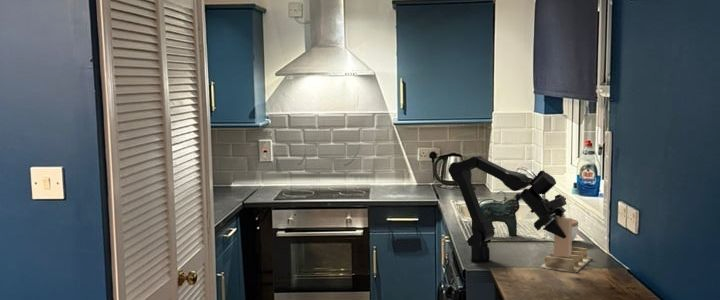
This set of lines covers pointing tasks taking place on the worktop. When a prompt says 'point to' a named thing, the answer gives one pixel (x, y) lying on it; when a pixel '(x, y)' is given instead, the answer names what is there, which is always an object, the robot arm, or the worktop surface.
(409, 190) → the worktop surface
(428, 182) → the worktop surface
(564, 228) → the tan rectangular block
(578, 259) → the drying rack
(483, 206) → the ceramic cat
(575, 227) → the lidded bowl
